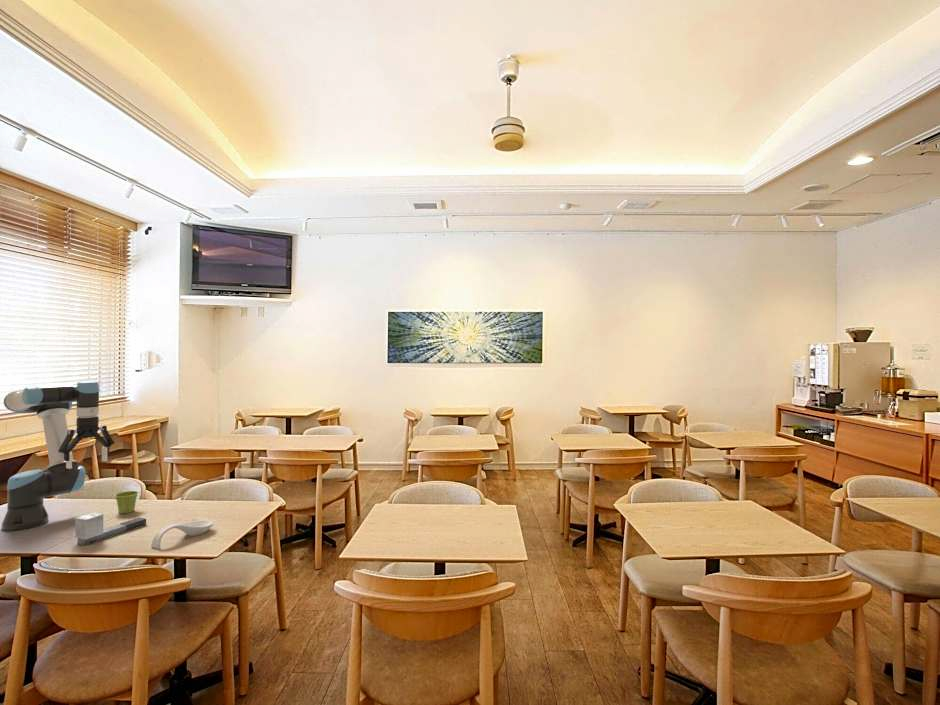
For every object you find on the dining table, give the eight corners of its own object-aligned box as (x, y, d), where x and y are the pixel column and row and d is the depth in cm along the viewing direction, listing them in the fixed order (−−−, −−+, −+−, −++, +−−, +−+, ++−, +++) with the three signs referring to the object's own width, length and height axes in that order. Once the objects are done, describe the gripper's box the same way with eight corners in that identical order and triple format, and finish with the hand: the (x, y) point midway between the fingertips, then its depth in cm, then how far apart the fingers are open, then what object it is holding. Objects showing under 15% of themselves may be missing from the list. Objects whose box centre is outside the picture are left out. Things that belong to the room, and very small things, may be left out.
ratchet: (85, 545, 184) (85, 529, 184) (77, 543, 186) (77, 527, 186) (146, 524, 206) (146, 510, 206) (138, 523, 208) (138, 508, 208)
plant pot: (143, 509, 227) (143, 491, 227) (124, 515, 218) (124, 497, 218) (128, 507, 229) (129, 490, 229) (109, 513, 220) (109, 495, 220)
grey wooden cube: (75, 537, 186) (75, 517, 186) (93, 531, 192) (93, 512, 192) (85, 539, 183) (85, 519, 183) (103, 533, 189) (103, 514, 189)
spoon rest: (200, 526, 205) (200, 510, 205) (219, 530, 200) (219, 513, 200) (145, 546, 183) (145, 528, 183) (164, 551, 179) (164, 533, 179)
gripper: (58, 421, 189) (58, 472, 189) (123, 413, 212) (123, 459, 212) (48, 419, 192) (47, 470, 192) (113, 412, 215) (112, 457, 215)
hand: (87, 464), depth 202 cm, fingers open, 13 cm apart
